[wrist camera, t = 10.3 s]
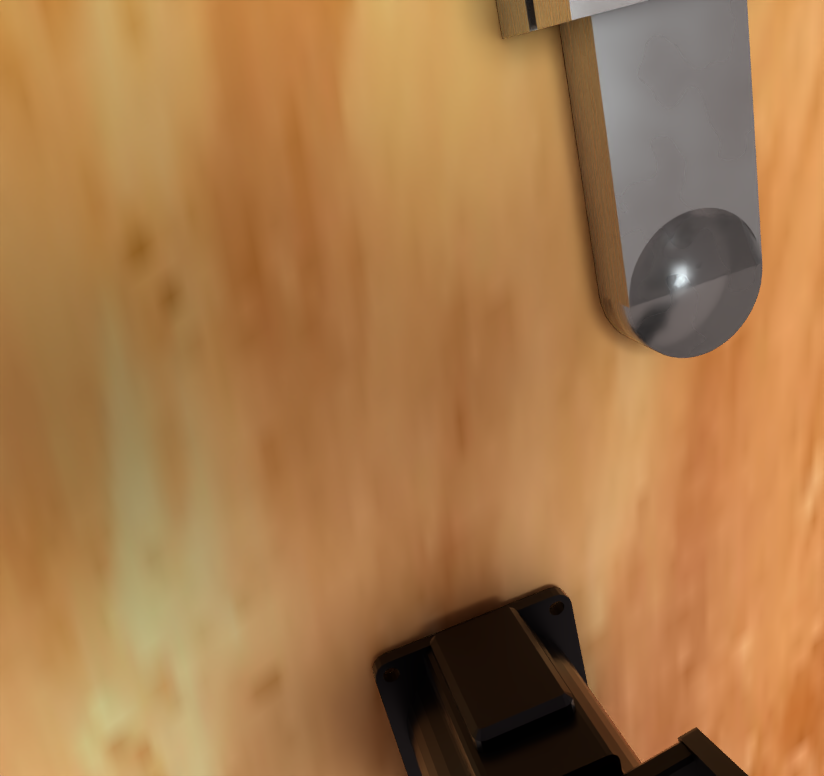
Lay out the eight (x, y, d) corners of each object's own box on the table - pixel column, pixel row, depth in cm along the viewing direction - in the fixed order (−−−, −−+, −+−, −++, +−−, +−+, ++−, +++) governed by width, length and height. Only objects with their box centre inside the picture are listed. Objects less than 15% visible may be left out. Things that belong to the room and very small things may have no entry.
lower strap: (771, 302, 23) (811, 315, 21) (562, 376, 21) (589, 395, 20) (735, -381, 16) (788, -430, 15) (437, -330, 15) (463, -378, 14)
